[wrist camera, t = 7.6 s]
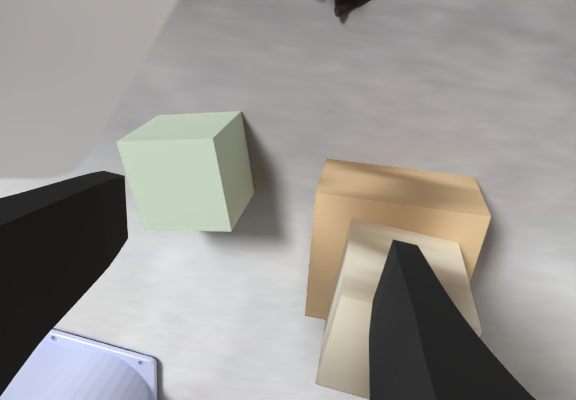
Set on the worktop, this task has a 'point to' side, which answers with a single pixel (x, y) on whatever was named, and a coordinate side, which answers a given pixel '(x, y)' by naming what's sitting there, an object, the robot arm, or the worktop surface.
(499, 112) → the worktop surface
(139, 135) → the sage block
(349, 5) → the bread roll
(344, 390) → the birch block
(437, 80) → the worktop surface
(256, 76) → the worktop surface
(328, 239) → the oak block
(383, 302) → the robot arm
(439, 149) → the worktop surface
